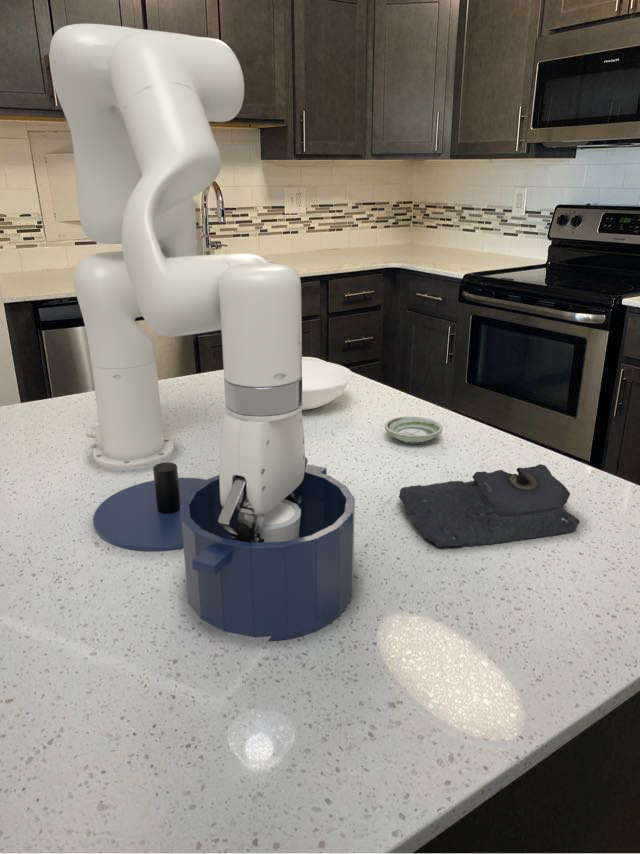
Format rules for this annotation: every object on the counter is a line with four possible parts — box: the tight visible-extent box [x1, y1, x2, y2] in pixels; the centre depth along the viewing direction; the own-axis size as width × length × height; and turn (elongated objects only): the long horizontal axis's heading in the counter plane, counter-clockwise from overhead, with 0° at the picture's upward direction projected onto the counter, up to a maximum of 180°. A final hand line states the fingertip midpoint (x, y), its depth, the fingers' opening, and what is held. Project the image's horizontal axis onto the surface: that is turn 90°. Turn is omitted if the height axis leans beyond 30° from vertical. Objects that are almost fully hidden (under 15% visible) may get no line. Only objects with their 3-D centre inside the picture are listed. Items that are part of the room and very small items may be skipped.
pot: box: [180, 464, 356, 642], centre depth 70 cm, size 18×23×10 cm
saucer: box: [384, 415, 443, 445], centre depth 112 cm, size 10×10×2 cm
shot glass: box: [243, 499, 301, 542], centre depth 70 cm, size 7×7×7 cm
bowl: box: [302, 359, 354, 411], centre depth 128 cm, size 20×20×6 cm
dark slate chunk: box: [398, 464, 581, 548], centre depth 87 cm, size 15×22×5 cm
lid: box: [92, 462, 206, 552], centre depth 86 cm, size 19×19×7 cm
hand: (269, 551), depth 71 cm, fingers closed on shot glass, 6 cm apart
